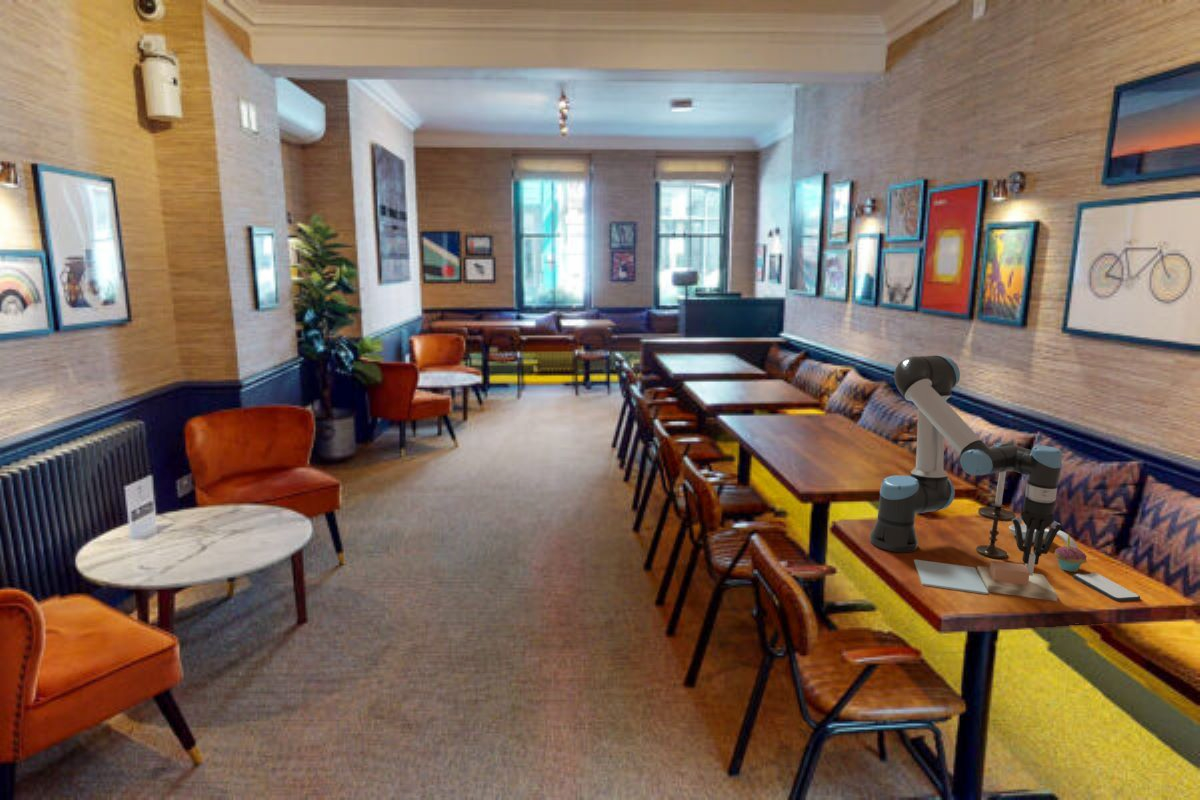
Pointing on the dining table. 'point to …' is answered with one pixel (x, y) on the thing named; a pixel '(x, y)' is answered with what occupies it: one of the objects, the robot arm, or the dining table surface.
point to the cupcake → (1070, 557)
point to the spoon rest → (1059, 533)
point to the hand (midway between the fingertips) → (1028, 573)
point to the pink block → (1009, 572)
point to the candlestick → (995, 522)
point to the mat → (950, 576)
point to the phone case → (1106, 587)
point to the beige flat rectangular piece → (1019, 586)
